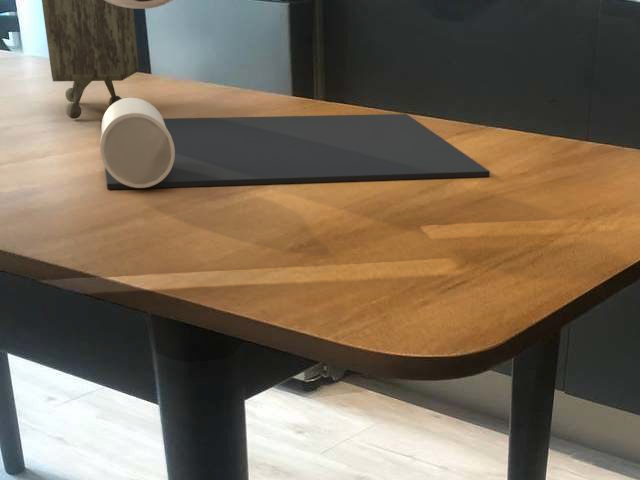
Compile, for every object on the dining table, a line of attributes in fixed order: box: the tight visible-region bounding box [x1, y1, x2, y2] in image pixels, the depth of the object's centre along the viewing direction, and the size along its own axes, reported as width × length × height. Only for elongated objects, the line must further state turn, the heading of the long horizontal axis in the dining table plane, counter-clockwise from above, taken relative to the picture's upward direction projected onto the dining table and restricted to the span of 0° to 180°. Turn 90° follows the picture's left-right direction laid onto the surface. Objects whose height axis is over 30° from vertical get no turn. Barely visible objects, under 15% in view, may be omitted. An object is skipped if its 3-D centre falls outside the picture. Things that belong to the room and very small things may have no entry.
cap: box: [99, 97, 175, 189], centre depth 93 cm, size 6×6×9 cm
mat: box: [99, 113, 491, 191], centre depth 108 cm, size 34×30×1 cm
